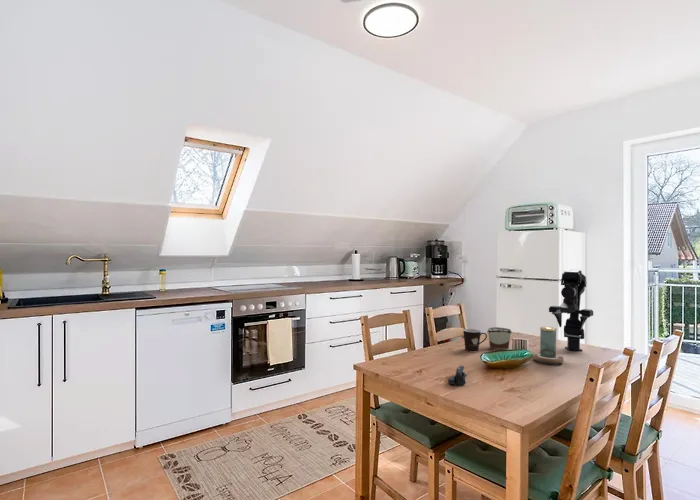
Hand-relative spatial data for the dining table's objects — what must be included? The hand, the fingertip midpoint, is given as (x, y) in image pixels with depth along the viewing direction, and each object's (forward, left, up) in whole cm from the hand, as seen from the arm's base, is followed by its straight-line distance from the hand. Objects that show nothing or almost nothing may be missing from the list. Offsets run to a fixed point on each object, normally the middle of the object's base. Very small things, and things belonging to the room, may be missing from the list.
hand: (570, 328), depth 206 cm
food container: (-10, -32, -13) cm, 36 cm away
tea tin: (+14, -15, -11) cm, 23 cm away
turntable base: (+14, -15, -13) cm, 24 cm away
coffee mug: (-1, -45, -13) cm, 47 cm away
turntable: (+14, -15, -12) cm, 23 cm away
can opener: (+48, -58, -14) cm, 77 cm away
